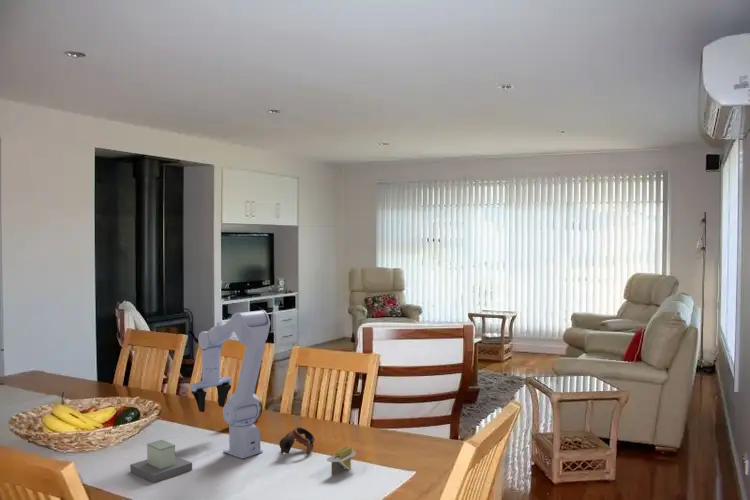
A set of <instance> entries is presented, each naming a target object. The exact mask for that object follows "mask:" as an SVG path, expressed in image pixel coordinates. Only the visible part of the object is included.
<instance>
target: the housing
mask: <svg viewBox="0 0 750 500" xmlns="http://www.w3.org/2000/svg"><path fill="white" fill-rule="evenodd" d="M146 448H147V449H146V457H147V458H146V460H147V463H149V464H151V465H153V466H155V467H157V468H159V469H162V468H166V467H169V466H172V465H175V456H176V445H175V444H173V443H172V442H168V441H166V440H164V439H158V440H155V441H151V442H148V443H147V444H146Z"/></svg>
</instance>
